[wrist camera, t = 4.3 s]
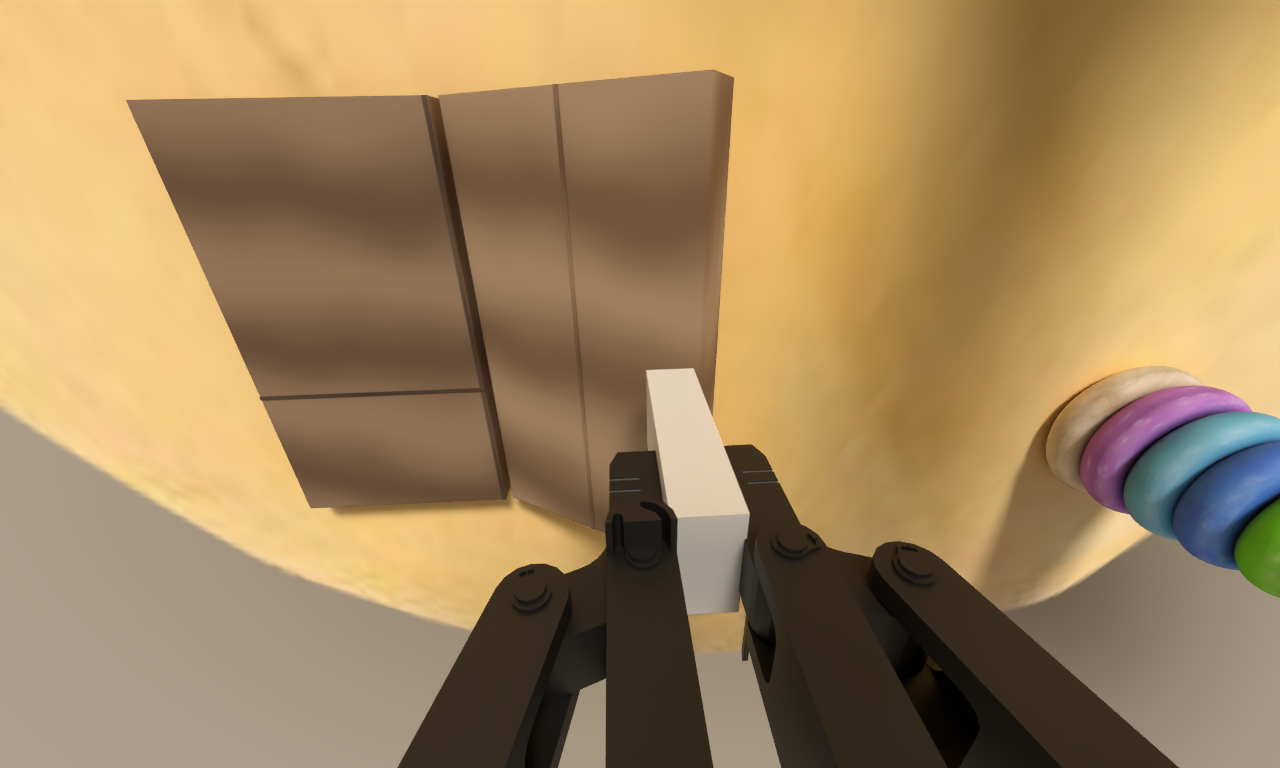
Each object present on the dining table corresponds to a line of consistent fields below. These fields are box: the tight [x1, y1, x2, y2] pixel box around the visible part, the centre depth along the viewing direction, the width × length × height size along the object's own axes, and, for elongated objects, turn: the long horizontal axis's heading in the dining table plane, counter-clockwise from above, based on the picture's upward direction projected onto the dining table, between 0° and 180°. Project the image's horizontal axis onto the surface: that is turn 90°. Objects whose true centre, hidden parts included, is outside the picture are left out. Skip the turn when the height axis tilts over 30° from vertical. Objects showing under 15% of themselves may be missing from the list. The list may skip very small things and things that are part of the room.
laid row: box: [126, 95, 511, 508], centre depth 21 cm, size 18×10×2 cm, turn 1°
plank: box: [438, 70, 734, 533], centre depth 19 cm, size 18×10×2 cm
